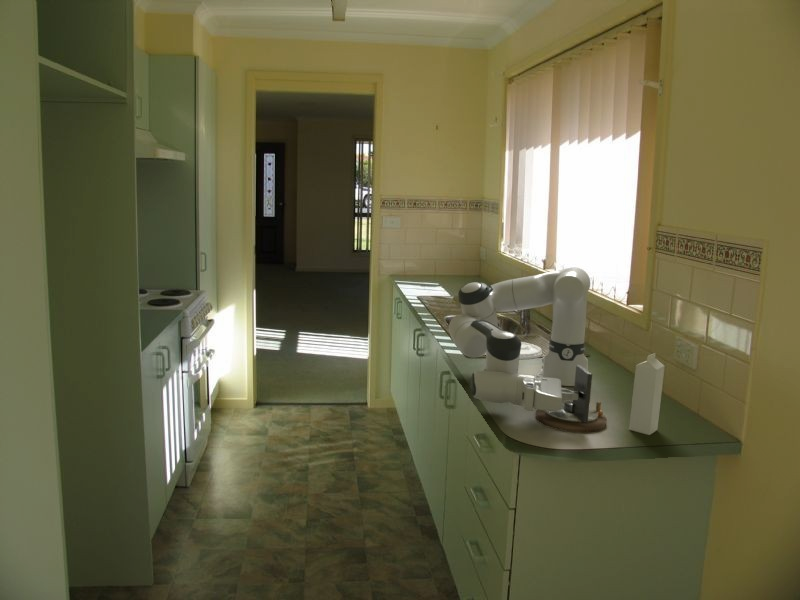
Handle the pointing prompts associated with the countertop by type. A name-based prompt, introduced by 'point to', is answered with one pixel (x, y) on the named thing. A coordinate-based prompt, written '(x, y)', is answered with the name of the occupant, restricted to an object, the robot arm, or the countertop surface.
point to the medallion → (529, 351)
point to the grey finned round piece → (578, 401)
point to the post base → (572, 427)
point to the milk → (647, 396)
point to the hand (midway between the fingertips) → (578, 395)
